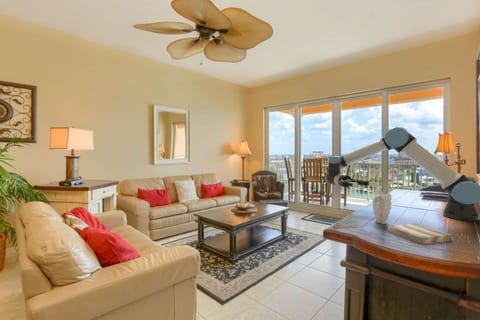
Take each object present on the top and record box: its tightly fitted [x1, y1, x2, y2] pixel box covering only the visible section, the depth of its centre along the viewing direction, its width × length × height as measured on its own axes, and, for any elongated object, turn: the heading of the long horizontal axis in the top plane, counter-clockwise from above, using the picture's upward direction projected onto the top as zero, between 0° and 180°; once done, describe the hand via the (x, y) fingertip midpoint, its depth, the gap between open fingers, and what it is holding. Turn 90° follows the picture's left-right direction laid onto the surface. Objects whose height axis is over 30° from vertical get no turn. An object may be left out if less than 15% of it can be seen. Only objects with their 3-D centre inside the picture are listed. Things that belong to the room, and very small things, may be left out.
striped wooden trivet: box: [387, 223, 453, 245], centre depth 106 cm, size 16×16×2 cm
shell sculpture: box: [372, 187, 392, 225], centre depth 125 cm, size 8×8×18 cm
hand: (367, 185), depth 134 cm, fingers open, 13 cm apart
